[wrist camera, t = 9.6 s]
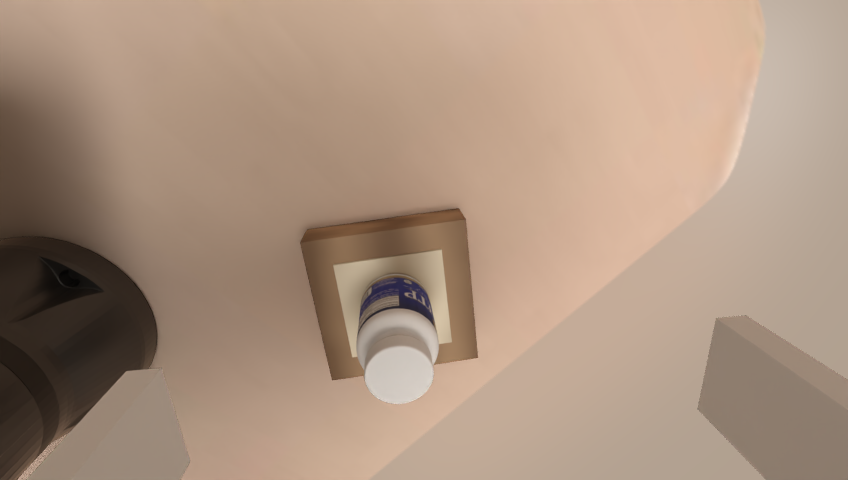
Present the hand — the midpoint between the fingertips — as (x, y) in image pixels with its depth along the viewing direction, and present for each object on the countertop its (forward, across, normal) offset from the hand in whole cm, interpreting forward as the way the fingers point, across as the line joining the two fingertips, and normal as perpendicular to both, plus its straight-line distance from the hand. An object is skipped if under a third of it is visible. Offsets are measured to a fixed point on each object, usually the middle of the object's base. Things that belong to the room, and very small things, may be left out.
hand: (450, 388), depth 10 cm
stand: (+24, -2, -9) cm, 25 cm away
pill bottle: (+21, -2, -8) cm, 23 cm away
